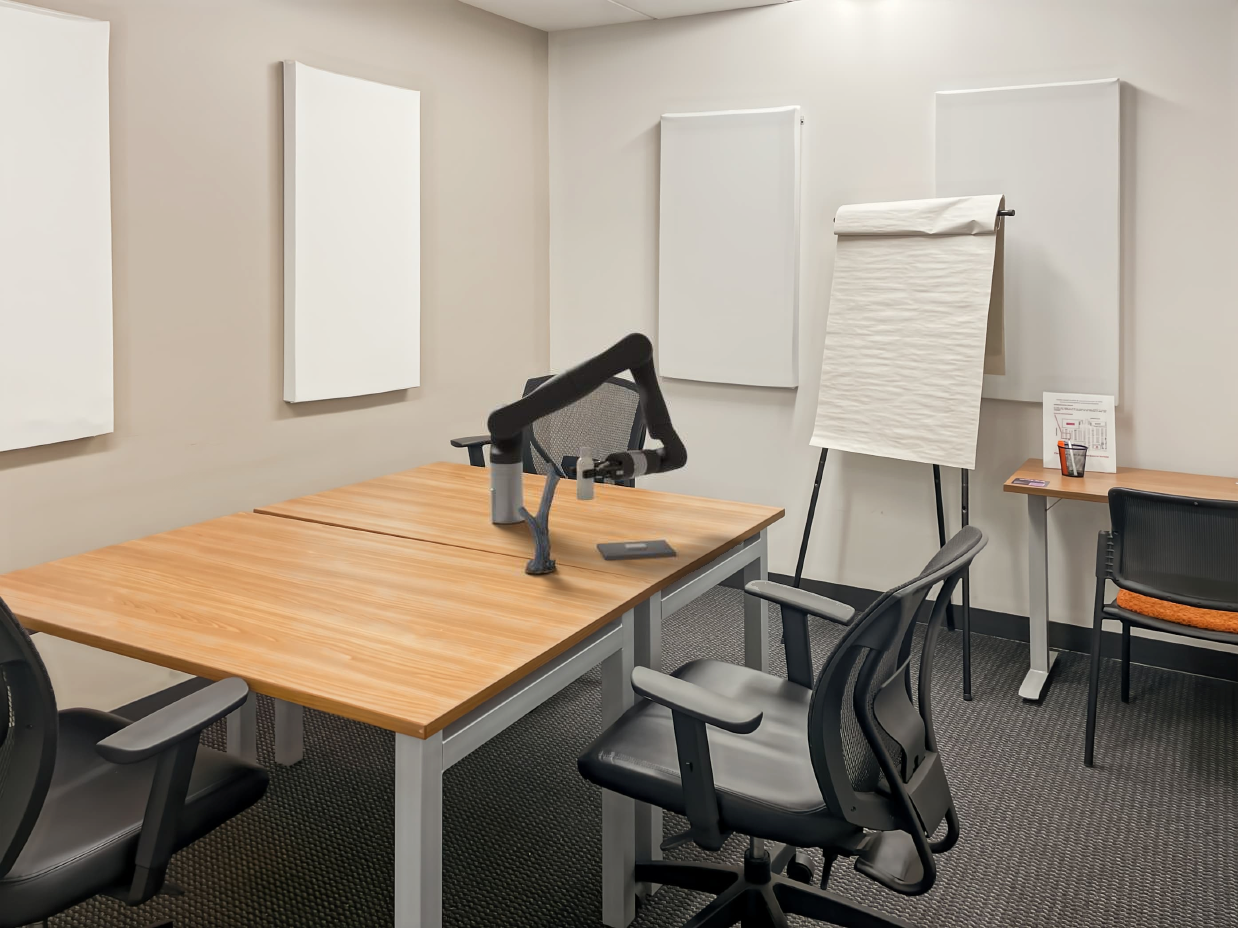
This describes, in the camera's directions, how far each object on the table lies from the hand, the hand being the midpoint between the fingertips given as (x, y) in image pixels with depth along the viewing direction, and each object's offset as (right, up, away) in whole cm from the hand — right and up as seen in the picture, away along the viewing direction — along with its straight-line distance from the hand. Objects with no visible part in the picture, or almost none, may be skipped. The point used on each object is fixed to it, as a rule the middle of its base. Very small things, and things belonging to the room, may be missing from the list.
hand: (577, 473), depth 248 cm
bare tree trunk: (-8, -23, -17) cm, 29 cm away
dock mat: (+15, -20, -2) cm, 25 cm away
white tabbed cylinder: (+2, -7, +3) cm, 8 cm away
